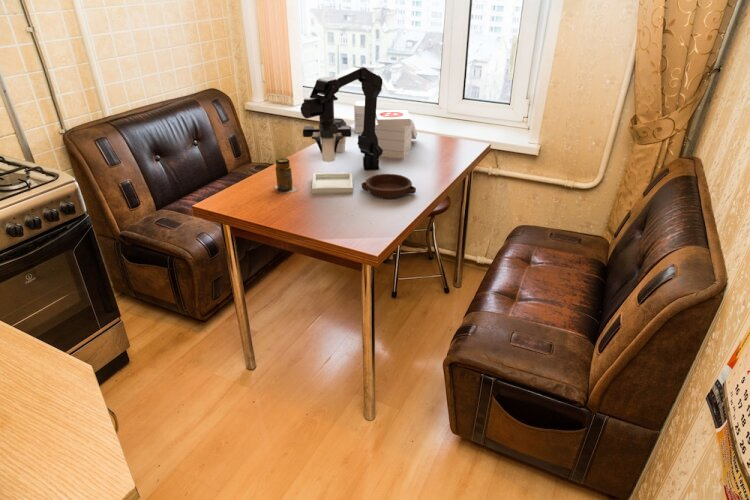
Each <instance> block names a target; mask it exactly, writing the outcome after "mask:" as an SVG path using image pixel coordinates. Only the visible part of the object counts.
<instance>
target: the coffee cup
mask: <svg viewBox="0 0 750 500" xmlns="http://www.w3.org/2000/svg"><path fill="white" fill-rule="evenodd" d="M334 124H338V129H341V126H347V122H346V121H345V120H344V119H342V118H334ZM333 135H334V148H335V139H336V134H333ZM346 138H347V137H343V139H340V141H339V143H338V146H337V149H336V153H337V154H339V153H343V152H345V151H346V141H347V140H346ZM336 153H335V154H336Z"/></svg>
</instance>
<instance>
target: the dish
mask: <svg viewBox="0 0 750 500" xmlns="http://www.w3.org/2000/svg"><path fill="white" fill-rule="evenodd" d="M361 188H362V190H365V191H368V192H369V193H370V194H371V195H372V196H373V197H375V198H379V199H384V200H393V199H398V198H401V197H403V196H405V195H409V194H415V193H416V190H417V188H416V187H415V186H413V183H412V180H410V178H409V177H406V176H404V175H400V174H396V173H395V174H394V173H381V174H380V173H379V174H374V175H372V176H369V177H368V178H367V179H365V181H363V182H362V183H361Z"/></svg>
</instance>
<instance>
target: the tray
mask: <svg viewBox="0 0 750 500" xmlns="http://www.w3.org/2000/svg"><path fill="white" fill-rule="evenodd" d="M311 184H312V185H311V194H312V195H340V194H342V195H345V194H348V195H349V194H354V189H353V188H354V187H353V172H320V173H319V172H316V173H315V172H314V173H313V177H312V183H311Z"/></svg>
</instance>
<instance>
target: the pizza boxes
mask: <svg viewBox="0 0 750 500" xmlns="http://www.w3.org/2000/svg"><path fill="white" fill-rule="evenodd" d="M375 133H376V136H377V138H378V146H379V147H380V148H381V149H382V150H383V152H382V155H380V157H384V158H391V159H401V158H402V160H405V158H406V156H407V155H408V154H409V152H410V151H411V150H412V140H417V136H418V132H417V129H416V126H415V123H414V121H413V118H411V116H410V114H409V112H408V110H407V109H406V110H376V122H375ZM410 149H411V150H410ZM409 150H410V151H409ZM407 153H408V154H407Z"/></svg>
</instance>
